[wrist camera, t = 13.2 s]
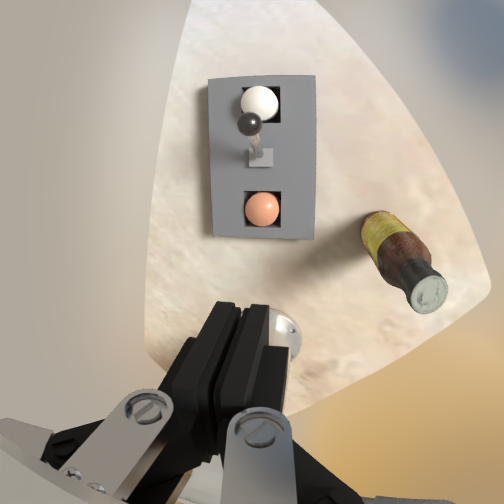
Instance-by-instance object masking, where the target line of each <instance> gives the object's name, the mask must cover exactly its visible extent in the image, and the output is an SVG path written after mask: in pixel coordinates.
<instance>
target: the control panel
mask: <svg viewBox="0 0 504 504" xmlns="http://www.w3.org/2000/svg"><path fill="white" fill-rule="evenodd" d="M255 86H263V87H266V88H268V89H270V90H280V102H281V123H262V128H261V130H260V132H259V133H258V134H259V137H260V140H261V144H262V147H263V150H264V156H263V157H262V158H257V157H255V155H254V152H253V149H252V147H251V144H250V141H249V138H248V136H245V135H243V134H241V133H240V132H239V131H238V129H237V119H238V118H239V116H240V115H241V114H243V113H244V112H243V110H242V108H241V99H242V96H243V94H244V93H245V92H246V91H247V90H248V89H249V88H251V87H255ZM208 113H209V151H210V178H211V201H212V221H213V236H226V237H253V238H278V239H302V240H314V223H315V194H316V80H315V76H314V75H265V76H243V77H228V78H217V79H208ZM248 191H281V222H273V223H272V224H270V225H268V226H257V225H255V224H253V223H252V222H250V221H248V218H247V216H246V212H245V207H246V203H247V202H248Z"/></svg>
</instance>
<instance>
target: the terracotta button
mask: <svg viewBox="0 0 504 504" xmlns="http://www.w3.org/2000/svg"><path fill="white" fill-rule="evenodd" d="M280 206H281V204H280V200H279V198H278V196H277V195H276V194H275V193H274V192H272V191H258V192H256V193H255V194H254V195H253V196H252V197H251V198H250V199H249V200H248V202H247V203H246V207H245V212H246V216H247V218H248V219H249V221H250V222H252V223H253V224H255V225H257V226H268V225H270V224H272V223H273V222H274V221H275V220H276V218H277V216H278V213H279V211H280Z"/></svg>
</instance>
